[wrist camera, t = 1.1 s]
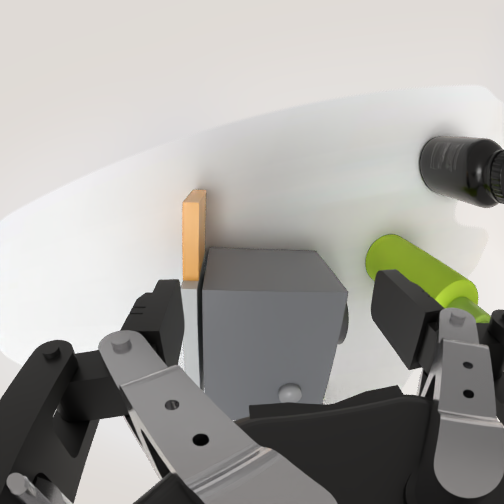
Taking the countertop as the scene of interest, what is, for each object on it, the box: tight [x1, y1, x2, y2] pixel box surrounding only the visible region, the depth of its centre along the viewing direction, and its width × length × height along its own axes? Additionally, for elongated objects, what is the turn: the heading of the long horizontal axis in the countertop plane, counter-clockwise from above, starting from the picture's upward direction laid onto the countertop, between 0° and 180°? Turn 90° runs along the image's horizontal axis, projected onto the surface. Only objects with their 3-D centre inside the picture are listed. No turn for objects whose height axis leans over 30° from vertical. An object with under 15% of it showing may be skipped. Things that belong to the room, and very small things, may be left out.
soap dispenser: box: [366, 234, 491, 323], centre depth 25 cm, size 6×7×20 cm
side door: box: [181, 190, 206, 392], centre depth 28 cm, size 21×1×10 cm, turn 177°
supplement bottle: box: [420, 136, 504, 208], centre depth 25 cm, size 7×7×12 cm
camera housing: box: [202, 247, 348, 420], centre depth 30 cm, size 14×13×11 cm
